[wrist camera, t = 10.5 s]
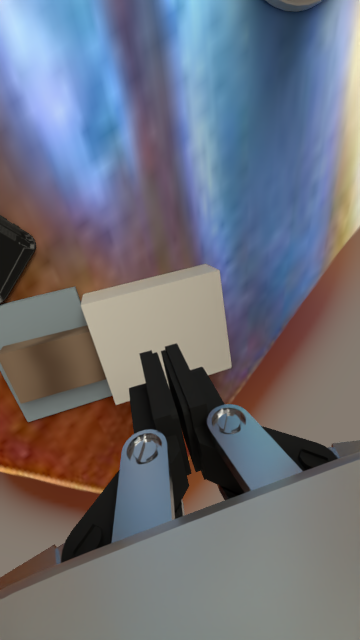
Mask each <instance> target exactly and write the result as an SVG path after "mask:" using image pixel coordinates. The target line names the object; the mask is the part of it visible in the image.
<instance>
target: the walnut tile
mask: <svg viewBox="0 0 360 640" xmlns="http://www.w3.org/2000/svg"><path fill="white" fill-rule="evenodd" d="M0 363H1V365H2V367H3V369H4V371H5V373H6V375H7V377H8V379H9V381H10V383H11V385H12V387H13V389H14V391H15V393H16V395H17V397H18V399H19V401H20V403H21V404H22V403H26V402H29V401H33V400H36V399H39V398H43V397H46V396H50V395H53V394H57V393H60V392H64V391H67V390H71V389H74V388H78V387H81V386H85V385H88V384H91V383H95V382H98V381H102V380H105V379H106V376H105V373H104V370H103V367H102V364H101V362H100V359H99V356H98V353H97V350H96V347H95V345H94V342H93V339H92V336H91V333H90V330H89V328H88V325H86V326H82V327H78V328H74V329H70V330H66V331H62V332H58V333H54V334H50V335H46V336H42V337H38V338H34V339H30V340H26V341H22V342H18V343H14V344H10V345H6V346H3V347H2V349H1V350H0Z"/></svg>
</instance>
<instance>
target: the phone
mask: <svg viewBox="0 0 360 640" xmlns="http://www.w3.org/2000/svg"><path fill="white" fill-rule="evenodd" d="M35 249H36V242H35V240H34V238H33V237H32V236H31V235H30V234H29V233H27V232H25V231H24V230H22V229H20V227H18V226H17V225H15V224H12V223H11V222H9V221H7V219H6V218H4V217H2V216H1V215H0V303H1V302H3V301H4V300H5V299H6V298H7V296H8V295H9V293H10V291H11V290H12V288H13V286H14V285H15V283H16V281H17V280H18V278H19V276H20V275H21V273H22V271H23V270H24V268H25V266H26V265H27V263H28V261H29V260H30V258H31V256H32V255H33V253H34V251H35Z"/></svg>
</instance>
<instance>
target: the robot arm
mask: <svg viewBox="0 0 360 640" xmlns="http://www.w3.org/2000/svg"><path fill="white" fill-rule="evenodd" d="M265 1H267V2H268V3H270V4H271V5H272V6H274V7H276V8H279V9H282V10H285V11H295V12H298V11H302V10H306V9H310V8H311V7H313V6H315V5H317V4H319V3H320V2H321V1H322V0H265ZM139 354H140V359H141V364H142V368H143V373H144V377H145V382H146V383H144V384H141V385H137V386H134V387H131V388H129V395H130V404H131V412H132V420H133V428H134V435H132V436H131V437H130V438H129V439H128V440H127V441H126V443H125V445H124V446H123V450H122V454H121V463H120V470H119V471H118V473H117V474H116V475H115V476H114V478H113V479H112V480H111V482H110V483H109V484H108V485H107V487H106V488H105V489H104V490H103V492H102V493H101V494H100V496H99V497H98V498H97V499H96V501H95V502H94V503H93V505H92V506H91V507H90V508H89V510H88V511H87V512H86V513H85V515H84V516H83V517H82V519H81V520H80V521H79V522H78V524H77V525H76V526H75V528H74V529H73V530H72V531H71V533H70V535H69V536H68V538H67V540H66V542H65V543H64V544H62V545H60V546H59V547H56V546H55V545H53V546H51V547H50V548H48V549H46V550H45V551H43V552H41V553H40V554H38V555H36V556H35V557H33V558H32V559H30V560H28V561H27V562H25V563H23V564H22V565H20V566H18V567H17V568H15V569H13V570H12V571H10V572H9V573H7V574H5V575H4V576H2V577H0V640H360V440H359V441H351V442H341V443H333V444H332V447H329V448H326V447H325V446H323V445H321V444H318V443H316V442H312V441H309V440H306V439H302V438H299V437H296V436H292V435H289V434H286V433H282V432H279V431H276V430H272V429H269V428H266V427H262V426H260V425H259V424H258V423H257V422H256V420H255V419H254V418H253V417H252V416H251V415H250V414H249V413H248V412H247V411H246V410H245V409H243V408H242V407H239V406H237V405H232V404H227V405H225V404H224V402H223V401H222V399H221V397H220V395H219V394H218V392H217V390H216V389H215V387H214V385H213V383H212V382H211V380H210V378H209V376H208V375H207V373H206V371H205V370H204V368H203V367H199V368H196V369H192V370H190V369H189V367H188V365H187V363H186V361H185V358H184V356H183V354H182V352H181V350H180V348H179V346H178V344H177V343H176V344H172V345H168V346H165V350H163V351H161V354H162V358H163V363H164V367H165V371H166V376H167V380H168V383H167V380H166V377H165V374H164V371H163V368H162V365H161V362H160V359H159V356H158V353H157V352H155V353H152V350H150V351H147V352H143V353H139ZM168 384H169V386H168ZM169 388H170V389H169ZM181 429H182V430H181ZM182 432H183V434H182ZM183 435H184V438H185V441H186V444H187V447H188V450H189V453H190V456H191V459H192V462H193V465H194V468H195V471H196V472H198V471H201V472H202V475H203V477H204V479H207V480H209V481H211V482H213V483H216V484H217V485H218V488H219V491H220V493H221V494H222V496H223V498H224V500H225V501H222V502H220V503H217V504H215V505H212V506H209V507H206V508H204V509H201V510H198V511H196V512H193V513H190V514H188V515H184V506H183V501H182V498H183V496H184V494H185V493H186V491H187V489H188V487H189V484H188V479H187V475H189V474H191V469H190V465H189V461H188V456H187V452H186V447H185V443H184V439H183Z"/></svg>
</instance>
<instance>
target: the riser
mask: <svg viewBox="0 0 360 640" xmlns="http://www.w3.org/2000/svg"><path fill="white" fill-rule="evenodd" d="M81 308H82V311H83V314H84V316H85V319H86V322H87V325H88V328H89V330H90V333H91V336H92V339H93V342H94V345H95V347H96V350H97V353H98V356H99V359H100V362H101V364H102V367H103V370H104V373H105V376H106V378H107V381H108V384H109V387H110V390H111V393H112V395H113V398H114V401H115V404H116V405H118V404H121V403H124V402H127V401H130V395H129V388H131V387H134V386H137V385H141V384H144V383H146V382H145V377H144V373H143V368H142V364H141V359H140V354H139V353H143V352H147V351H150V350H152V353H155V352H157V353H158V356H159V359H160V362H161V365H162V368H163V371H164V374H165V377H166V380H167V376H166V371H165V367H164V363H163V358H162V354H161V351H163V350H165V346H168V345H172V344H176V343H177V344H178V346H179V348H180V350H181V352H182V354H183V356H184V358H185V361H186V363H187V365H188V367H189V369H190V370H192V369H196V368H199V367H203V368H204V370H205V371H206V373H207V375H211V374H214V373H217V372H220V371H223V370H226V369H229V368H232V366H231V358H230V350H229V342H228V334H227V326H226V318H225V310H224V303H223V295H222V287H221V279H220V271H219V270H218V269H216V268H214V267H212V266H210V265H207V264H203V265H199V266H195V267H191V268H187V269H183V270H179V271H175V272H171V273H167V274H163V275H158V276H154V277H150V278H146V279H142V280H138V281H134V282H130V283H126V284H122V285H118V286H114V287H110V288H106V289H102V290H98V291H94V292H90V293H86V294H83V297H82V302H81ZM167 383H168V380H167ZM168 386H169V384H168Z"/></svg>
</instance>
